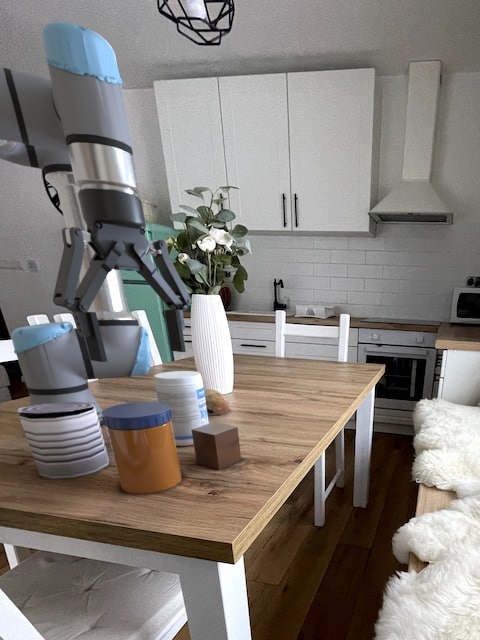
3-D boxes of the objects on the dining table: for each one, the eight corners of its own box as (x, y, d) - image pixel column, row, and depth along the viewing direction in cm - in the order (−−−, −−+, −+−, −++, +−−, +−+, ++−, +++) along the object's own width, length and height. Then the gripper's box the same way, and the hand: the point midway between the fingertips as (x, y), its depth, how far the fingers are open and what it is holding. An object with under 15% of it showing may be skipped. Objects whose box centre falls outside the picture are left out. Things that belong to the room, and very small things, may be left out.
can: (21, 476, 70) (-3, 410, 65) (72, 453, 80) (54, 395, 75) (80, 481, 69) (59, 414, 64) (123, 457, 79) (109, 398, 74)
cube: (196, 463, 77) (191, 429, 74) (219, 454, 82) (215, 421, 79) (219, 470, 75) (214, 435, 72) (241, 459, 80) (237, 426, 77)
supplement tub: (215, 442, 88) (206, 376, 82) (170, 450, 83) (157, 380, 77) (204, 431, 96) (195, 369, 89) (162, 437, 91) (149, 372, 84)
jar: (111, 482, 69) (92, 412, 64) (164, 466, 76) (151, 401, 70) (138, 499, 64) (119, 424, 58) (192, 480, 71) (180, 411, 65)
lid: (93, 420, 64) (90, 409, 63) (153, 409, 71) (151, 398, 70) (121, 434, 59) (118, 421, 58) (183, 419, 66) (181, 408, 65)
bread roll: (193, 428, 108) (187, 405, 102) (193, 404, 114) (188, 381, 108) (230, 426, 111) (227, 403, 105) (229, 402, 117) (226, 380, 111)
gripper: (169, 211, 65) (190, 346, 74) (-19, 170, 45) (40, 363, 54) (202, 208, 62) (219, 349, 71) (15, 163, 41) (72, 369, 51)
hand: (142, 356), depth 62 cm, fingers open, 13 cm apart
